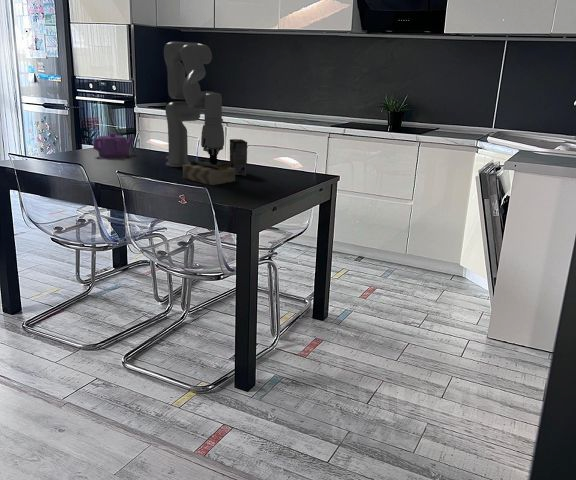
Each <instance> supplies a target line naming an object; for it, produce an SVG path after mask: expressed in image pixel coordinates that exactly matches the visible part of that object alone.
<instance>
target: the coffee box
mask: <svg viewBox="0 0 576 480" xmlns="http://www.w3.org/2000/svg"><path fill="white" fill-rule="evenodd" d="M229 167H232V168H235V175H242V176H247V172H248V141H247V140H244V139H238V138H237V139H236V138H233V139H231V138H230V139H229Z"/></svg>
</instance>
